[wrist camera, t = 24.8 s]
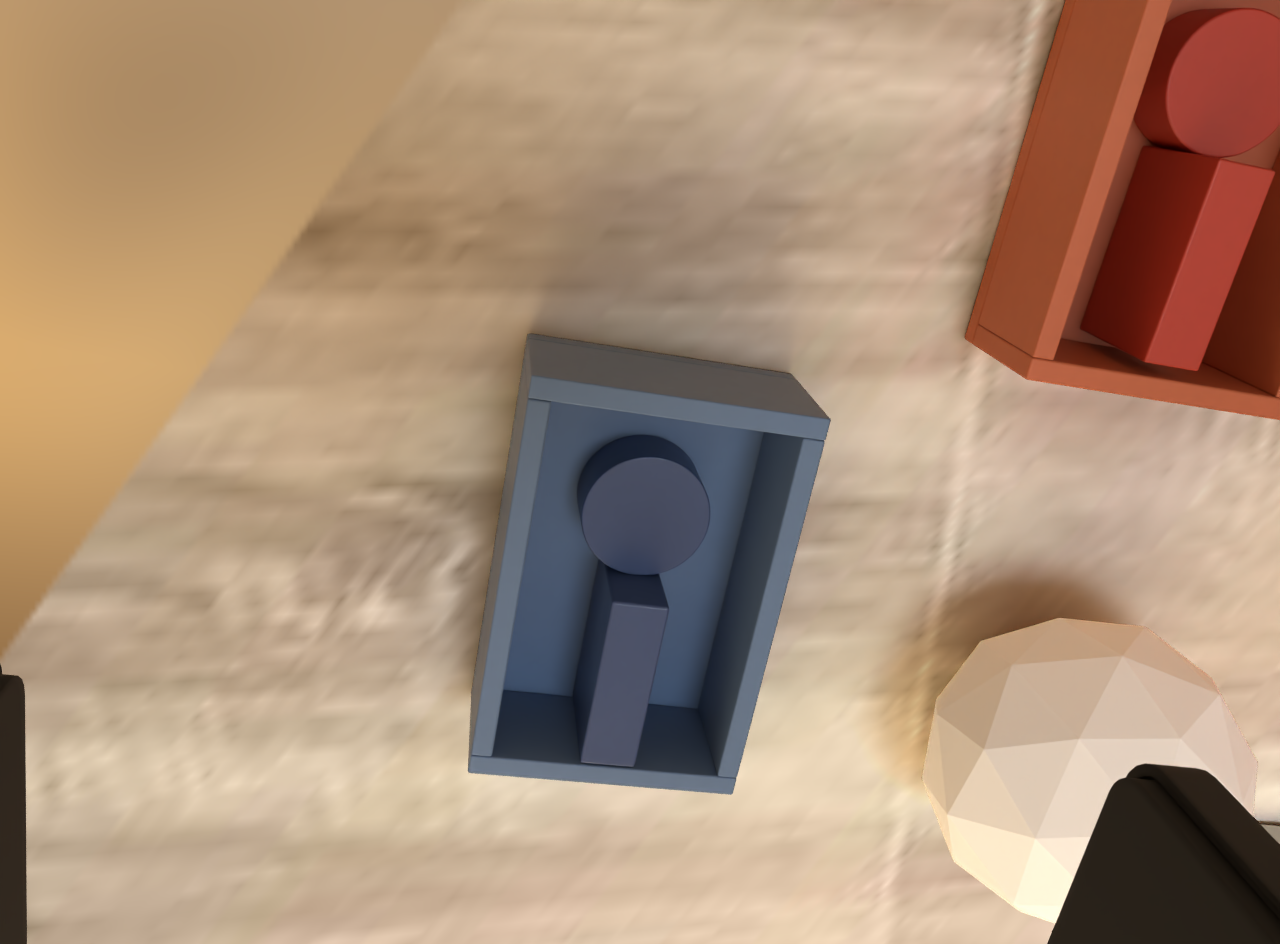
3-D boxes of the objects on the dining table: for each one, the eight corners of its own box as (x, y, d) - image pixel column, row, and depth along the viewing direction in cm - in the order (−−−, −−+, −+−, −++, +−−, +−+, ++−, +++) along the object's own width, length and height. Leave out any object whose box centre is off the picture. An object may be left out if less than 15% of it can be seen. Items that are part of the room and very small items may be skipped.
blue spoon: (588, 425, 31) (598, 471, 28) (711, 443, 32) (735, 489, 28) (540, 691, 34) (544, 760, 31) (653, 702, 35) (669, 771, 31)
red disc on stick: (1157, -5, 28) (1241, -10, 25) (1277, 25, 29) (1375, 24, 26) (1046, 322, 31) (1109, 356, 28) (1158, 343, 32) (1232, 378, 29)
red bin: (1095, -104, 28) (1188, -125, 24) (1355, -39, 29) (1482, -50, 26) (963, 339, 32) (1025, 380, 28) (1197, 377, 33) (1286, 421, 30)
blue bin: (527, 332, 30) (531, 375, 27) (792, 373, 32) (831, 419, 28) (471, 692, 34) (467, 773, 31) (708, 715, 36) (732, 795, 32)
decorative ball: (1136, 744, 41) (1206, 1060, 31) (877, 642, 41) (866, 929, 31) (1292, 582, 36) (1434, 901, 26) (996, 464, 36) (1028, 742, 26)
